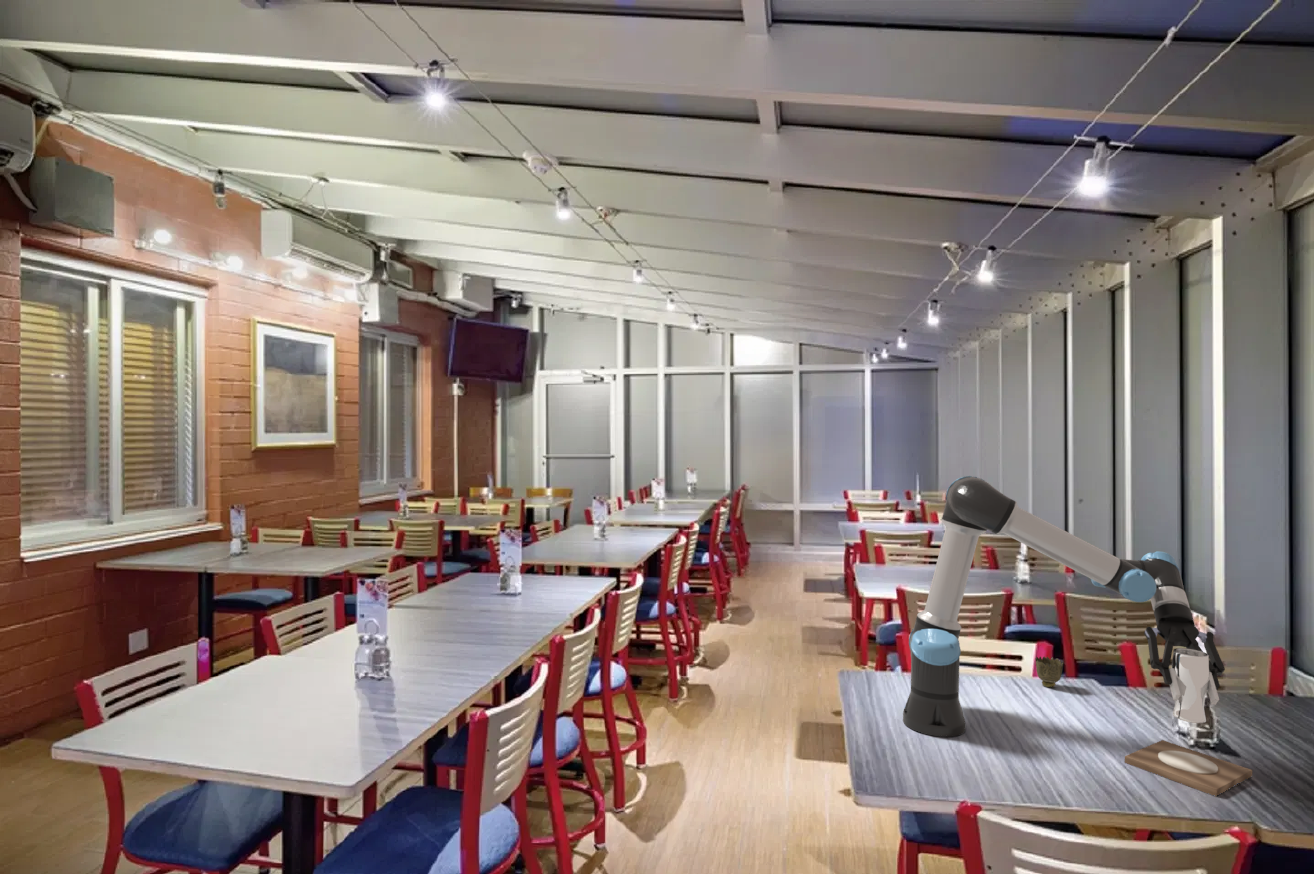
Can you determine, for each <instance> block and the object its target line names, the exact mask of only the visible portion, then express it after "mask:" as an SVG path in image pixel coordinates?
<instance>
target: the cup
mask: <svg viewBox="0 0 1314 874" xmlns="http://www.w3.org/2000/svg"><path fill="white" fill-rule="evenodd" d="M1034 659H1035V667H1036V668H1035V669H1036V675H1037V677H1038V678H1039V679H1040V680H1041V684H1042V686H1043V687H1046V688H1049V687H1052V688H1051V689H1053V688H1055V687H1056V683H1057V682H1059V681H1060V680H1061V677H1062V673H1063V668H1064V662H1062V660H1060V659H1059V658H1054V657H1053V656H1052V657H1051V658H1050V657H1048V656H1046V657H1045V656H1039V657H1038V656H1036V657H1035V658H1034Z"/></svg>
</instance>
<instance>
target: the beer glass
mask: <svg viewBox="0 0 1314 874" xmlns="http://www.w3.org/2000/svg"><path fill="white" fill-rule="evenodd" d="M1202 651H1203V650H1202ZM1202 651H1198V650H1193V649H1187V648H1186V647H1183V648H1182V647H1177V648H1173V650H1172V657H1171V659H1172V660H1171V668H1173V671H1174V673H1175V675H1176V679H1177V683H1178V687H1179V691H1180V694H1181V695H1180V697H1179V699H1178V700H1177V701H1175V700H1174V708H1173V711H1172V716H1173V717H1174V718H1176V719H1178V720H1181V721H1182V722H1183V721H1184V722H1186V723H1187V722H1188V723H1193V724H1204V723H1206V722H1207V719H1206V713H1205V701H1206V696H1207V694H1208V691H1207V689H1208V684H1209V677H1210V666H1209V661H1210V659H1209V655H1208V654H1207V652H1206V651H1205V652H1204V651H1203V652H1202Z"/></svg>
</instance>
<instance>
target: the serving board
mask: <svg viewBox="0 0 1314 874" xmlns="http://www.w3.org/2000/svg"><path fill="white" fill-rule="evenodd" d="M1124 764H1128V765H1129V766H1133V767H1136V768H1138V769H1141V770H1144V771H1147V772H1148V773H1151V772H1152V774H1154V773H1155V774H1154V775H1157V774H1158V776H1159V775H1160V777H1162V776H1163V777H1162V778H1165V779H1167V778H1168V780H1170V781H1173V782H1176V783H1179V784H1181V783H1182V784H1181V785H1183V786H1187V787H1190V788H1191V789H1195V790H1197V791H1200V792H1203V793H1206V794H1208V793H1209V794H1208V795H1210V794H1211V796H1213V795H1215V796H1214V797H1216V796H1217V795H1219V794H1220V793H1222V794H1224V793H1225V791H1226V790H1227V791H1229V790H1230V789H1229V788H1231V787H1233V786H1234V785H1236V784H1237V783H1240V782H1242V781H1244V780H1245V779H1247V780H1249V779H1250V778H1249V777H1251V776H1252V777H1253V769H1250V768H1247V767H1244V766H1241V765H1238V764H1236V763H1233V762H1230V761H1226V760H1224V759H1220V758H1217V757H1215V756H1212V755H1209V754H1206V753H1202V752H1199V751H1198V750H1197V751H1196V750H1194V749H1191V748H1188V747H1185V746H1181V745H1178V744H1176V743H1172V742H1169V741H1167V740H1163V739H1162V740H1159V741H1157V742H1154V743H1152V744H1150V745H1147V746H1145V747H1143V748H1141V749H1139V750H1136V751H1134V752H1132V753H1129V754H1127V755H1124ZM1252 777H1251V778H1252ZM1248 778H1249V779H1248ZM1245 781H1246V780H1245ZM1245 781H1244V782H1245ZM1242 783H1243V782H1242ZM1240 784H1241V783H1240ZM1236 786H1237V785H1236ZM1233 788H1234V787H1233ZM1228 789H1229V790H1228ZM1231 789H1232V788H1231ZM1227 791H1226V792H1227ZM1223 792H1224V793H1223ZM1220 795H1221V794H1220ZM1220 795H1219V796H1220ZM1217 797H1218V796H1217Z"/></svg>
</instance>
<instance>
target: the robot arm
mask: <svg viewBox="0 0 1314 874" xmlns="http://www.w3.org/2000/svg"><path fill="white" fill-rule="evenodd" d="M945 497H946V498H945V499H946V500H945V504H944V505H945V506H944V508H943V513H942V517H941V521H942V523H943V524H944V527H945V529H944V534H943V537H942V540H941V541H942V542H941V545H940V548H939V553H938V557H937V561H936V564H935V568H934V573H933V577H932V580H931V584H930V587H929V588H930V589H929V590H928V596H927V599H926V602H925V607H924V609H923V610H922V611H920V612H918V613H917V615H916V618H915V622H914V626H913V629H912V631H911V632H910V634H909V637H908V645H909V650H910V660H911V662H910V693H909V696H908V697H907V700H906V703H905V705H904V709H903V712H902V722H903V723H904V725H905V726H906V727H908V728H909V729H911V730H913V731H915V732H917V731H918V732H917V733H920V732H921V734H924V735H928V736H935V737H944V738H948V737H949V738H951V737H958V736H961V735H963V734H964V733H965V732H966V718H965V716H964V713H963V709H962V706H961V703H960V698H959V697H960V694H959V693H960V691H959V690H960V660H961V659H960V657H961V654H962V653H961V651H962V650H961V646H960V640H959V638H960V634H961V630H962V625H960V623H959V621H958V618H959V614H960V610H961V606H962V602H963V598H964V595H965V592H966V591H965V590H966V587H967V583H968V579H969V575H970V572H971V569H972V568H971V567H972V563H973V560H974V556H975V553H976V547H977V545H978V541H979V538H980V536H981V535H983V534H985V533H986V532H988V531H989V532H991V533H993V534H995V535H1001V534H1003V535H1006V536H1008V537H1009V538H1012V539H1014V540H1016V541H1018V542H1019V543H1021V544H1022V545H1025V546H1027V547H1028V548H1031V549H1032V550H1034V551H1036V552H1039V553H1041V554H1043V555H1044V556H1046V557H1048V558H1050V559H1052V560H1054V561H1056V562H1058V563H1059V564H1062V565H1063V566H1066V567H1067V568H1069V569H1072V570H1073V571H1075V572H1077V573H1079V574H1081V575H1083V576H1085V577H1087V578H1089V579H1090V581H1091V583H1092V585H1093V586H1094V587H1099V588H1104V589H1110V590H1111V591H1113V592H1115V593H1117V594H1119V595H1121V596H1122V597H1123V598H1125V599H1127V600H1128V601H1130V602H1131V601H1132V602H1135V603H1144V602H1147V601H1149V600H1150V603H1151V606H1152V610H1153V615H1154V618H1155V624H1156V627H1151V626H1146V628H1145V630H1144V632H1143V634H1144V636H1145V638H1146V640H1147V644H1148V646H1147V647H1148V655H1149V660H1150V663H1149V664H1150V667H1151V669H1152V670H1159V673H1160V674H1161V675H1162V677H1163V678H1162V679H1163V682H1164V684H1165V685H1168V686H1169V688H1170V692H1171V696H1172V701H1174V702H1175V701H1177V700H1178V699H1179V697H1180V695H1181V694H1180V691H1179V687H1178V683H1177V679H1176V675H1175V673H1174V671H1173V668H1172V667H1170V665H1171V661H1172V660H1171V659H1172V656H1173V650H1174V647H1178V646H1180V647H1183V648H1186V649H1193V650H1198V651H1202V652H1204V651H1203V649H1202V648H1201V647H1200V645H1199V642H1198V641H1197V638H1199V640H1200V641H1201V643H1202V644H1203V646H1204V650H1205V653H1207V654H1208V655H1209V666H1210V677H1209V684H1208V689H1207V694H1208V698H1209V700H1210V704H1211V705H1212V706H1216V705H1217V703H1218V702H1219V701H1220V697H1219V693H1218V690H1219V688H1220V681H1219V678H1218V676H1219V677H1221V676H1222V675H1223V674H1224V672H1225V670H1226V669H1225V666H1224V663H1223V661H1222V658H1221V656H1220V654H1219V651H1218V649H1217V647H1216V644H1215V642H1214V634H1213V632H1212V631H1211V632H1210V631H1207V633H1205V632H1204V631H1203V632H1202V631H1199V629H1198V628H1197V627H1196V625H1195V620H1194V617H1193V614H1192V611H1191V608H1190V607H1191V606H1190V603H1189V600H1188V597H1187V593H1186V591H1185V588H1184V587H1185V586H1184V585H1183V579H1182V575H1181V571H1180V568H1179V565H1178V564H1177V561H1176V559H1175V557H1174V556H1173V555H1172V554H1170V553H1169V552H1165V551H1155V552H1148V553H1146V554H1144V555H1143V556H1142V557H1141V559H1139V560H1138V559H1137V560H1135V559H1126V558H1125V559H1123V558H1119V557H1117V556H1115V555H1113V554H1111V553H1109V552H1107V551H1105V550H1103V549H1102V548H1100V547H1097V546H1096V545H1093V544H1091V543H1089V542H1088V541H1086V540H1083V538H1080V537H1078V536H1075V535H1074V534H1073V533H1070V532H1068V531H1066V530H1064V529H1062V528H1060V527H1058V526H1056V525H1055V524H1052V523H1050V522H1048V521H1046V520H1044V519H1043V518H1041V517H1039V516H1037V515H1035V514H1032V513H1031V512H1028V511H1027V510H1024V509H1023V508H1021V507H1020V506H1019V505H1018V502H1017V501H1016V500H1015V499H1013V498H1010V497H1009V496H1006V495H1005V494H1003V493H1002V492H1001V491H1000V490H998V489H996V488H995V487H993V485H991V483H989V482H987V481H986V480H985V479H982V478H980V477H977V476H971V475H969V476H962V477H959V478H957V479H955V480H954V481H953V482H952V483H951V484H950V485H949V486H948V488H947V489H946V493H945ZM1158 635H1159V637H1161V638H1162V639H1163V640H1164V641H1165V644H1164V650H1163V655H1162V659H1161V661H1160V655H1159V647H1158V639H1157V637H1158Z"/></svg>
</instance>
